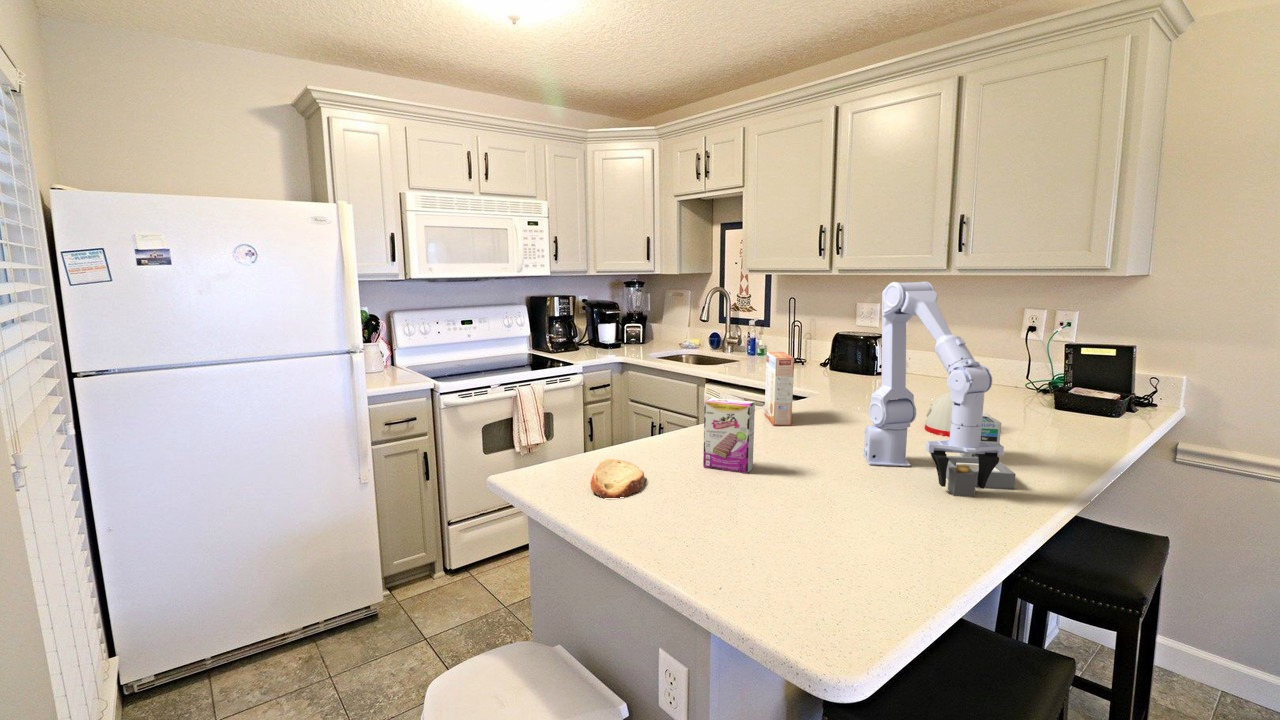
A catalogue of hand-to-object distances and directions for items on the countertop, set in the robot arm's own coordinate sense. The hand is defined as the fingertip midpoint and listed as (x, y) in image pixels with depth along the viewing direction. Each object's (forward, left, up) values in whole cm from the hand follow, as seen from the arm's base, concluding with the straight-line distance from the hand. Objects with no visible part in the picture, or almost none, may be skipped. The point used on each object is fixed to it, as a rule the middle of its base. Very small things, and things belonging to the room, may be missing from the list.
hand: (961, 486), depth 130 cm
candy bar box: (-49, +9, -2) cm, 50 cm away
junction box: (+6, +10, -2) cm, 11 cm away
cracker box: (-35, +58, -2) cm, 67 cm away
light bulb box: (+12, +26, -2) cm, 29 cm away
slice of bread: (-74, -4, -2) cm, 74 cm away
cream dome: (+14, +52, -2) cm, 54 cm away
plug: (0, 0, -2) cm, 2 cm away
